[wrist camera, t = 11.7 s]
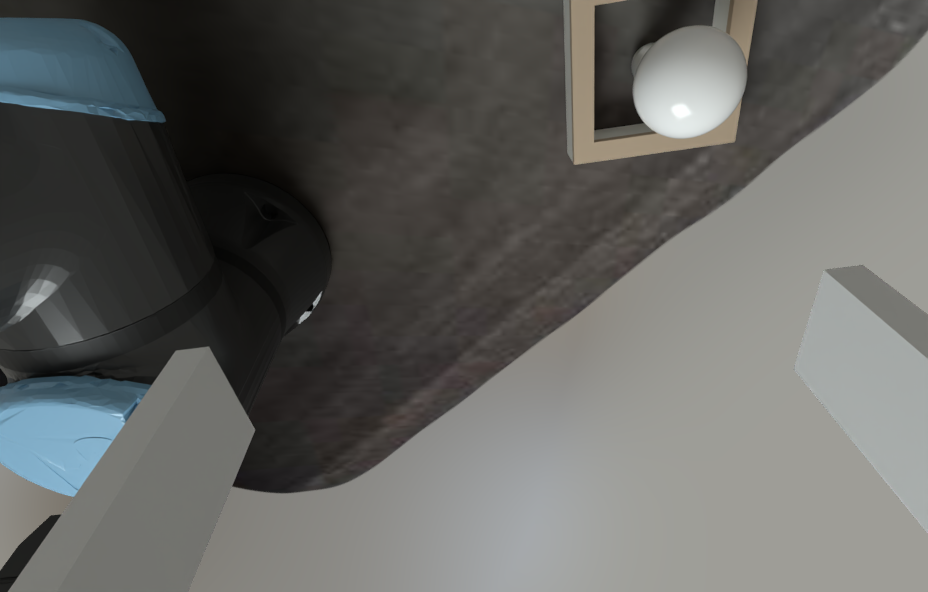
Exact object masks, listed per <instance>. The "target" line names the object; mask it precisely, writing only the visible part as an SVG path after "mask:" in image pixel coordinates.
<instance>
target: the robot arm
mask: <svg viewBox="0 0 928 592" xmlns="http://www.w3.org/2000/svg"><path fill="white" fill-rule="evenodd" d="M163 122H166V120H165V117H164V115H163V113H162V112H161V111H159V110H157V108H156V106H155V104H154V102H153V100H152V98H151V96H150V94H149V92H148V90H147V88H146V86H145V83H144V81H143V79H142V77H141V75H140V72H139V70H138V68H137V66H136V64H135V61H134V59H133V57H132V55H131V54H130V52H129V50H128V49H127V47H126V46H125V45H124V44H123V42H122V41H121V40H120V39H119V38H118V37H116V36H115V35H114V34H113V33H111V32H110V31H108V30H107V29H105V28H103V27H101V26H100V25H98V24H95V23H92V22H89V21H86V20H80V19H65V18H0V368H1V369H2V371H3V372H4V373H5V375H6V376H7V378H8V384H7V385H6V386H3V387H0V463H1V464H3V465H4V466H5V467H7V468H8V469H10V470H11V471H13V472H14V473H16V474H17V475H19V476H21V477H23V478H25V479H26V480H28V481H31V482H33V483H35V484H37V485H39V486H42V487H44V488H47V489H50V490H52V491H55V492H58V493H61V494H64V495H68V496H72V497H73V499H72V500H71V502H70V503H69V505H68V506H67V508H66V509H65V511H64V512H63V514H61V515H51V516H50V517H49V518H48V519H47V520H46V521H45V522H43V523H42V524H41V525H40V526H39V527H38V528H37V529H36V530H35V531H34V532H33V533H32V534H31V535H29V536H28V537H27V538H26V539H25V540H24V541H23V542H22V543H21V544H20V545H19V546H18V548H17V549H16V550H15V551H14V553H13V554H12V555H11V557H10V558H9V560H8V561H7V562H6V564H5V565H4V566H3V568H2V569H1V571H0V592H188V590H189V588H190V586H191V583H192V581H193V578H194V576H195V574H196V571H197V569H198V566H199V564H200V562H201V559H202V557H203V554H204V552H205V550H206V547H207V545H208V542H209V540H210V538H211V535H212V533H213V530H214V528H215V526H216V523H217V521H218V518H219V515H220V513H221V511H222V509H223V506H224V504H225V501H226V499H227V497H228V494H229V491H230V489H231V487H232V485H233V482H234V480H235V477H236V475H237V473H238V470H239V468H240V465H241V463H242V461H243V458H244V456H245V453H246V451H247V448H248V446H249V444H250V441H251V439H252V436H253V434H254V432H255V429H254V427H253V425H252V423H251V422H250V420H249V418H248V416H249V413H250V411H251V409H252V406H253V404H254V402H255V400H256V397H257V395H258V393H259V390H260V388H261V386H262V384H263V381H264V379H265V377H266V374H267V372H268V370H269V368H270V365H271V363H272V361H273V358H274V356H275V354H276V352H277V349H278V347H279V344H280V342H281V340H282V338H283V337H285V336H286V335H287V334H288V333H289V332H291V331H292V330H293V329H294V328H295V327H296V326H297V325H298V324H300V323H301V322H302V321H304V320H305V319H306V318H307V317H308V316H309V315H310V314H311V313H312V312H313V311H314V310H315V308H316V307H317V306H318V304H319V303H320V301H321V299H322V297H323V295H324V292H325V289H326V287H327V284H328V281H329V278H330V273H331V254H330V249H329V246H328V242H327V240H326V237H325V235H324V233H323V231H322V229H321V227H320V226H319V224H318V223H317V221H316V220H315V218H314V217H313V216H312V215H311V213H310V212H309V211H308V210H307V209H306V208H305V207H304V206H303V205H302V204H301V203H300V202H299V201H297V200H296V199H295V198H294V197H292V196H291V195H289V194H288V193H287V192H285V191H283V190H282V189H280V188H278V187H276V186H274V185H272V184H270V183H268V182H265V181H263V180H260V179H257V178H253V177H249V176H245V175H239V174H228V173H221V174H210V175H205V176H201V177H198V178H195V179H192V180H190V181H188V182H186V179H185V177H184V174H183V172H182V169H181V167H180V164H179V161H178V159H177V156H176V154H175V151H174V149H173V146H172V144H171V141H170V138H169V136H168V133H167V131H166V128H165V126H164V123H163ZM794 370H795V372H796V373H797V374H798V375H799V377H800V378H801V379H802V380H803V381H804V383H805V384H806V385H807V386H808V387H809V389H810V390H811V391H812V392H813V394H814V395H815V396H816V397H817V398H818V400H819V401H820V402H821V403H822V405H823V406H824V407H825V408H826V410H827V411H828V412H829V413H830V414H831V416H832V417H833V418H834V419H835V421H836V422H837V423H838V424H839V425H840V427H841V428H842V429H843V430H844V432H845V433H846V434H847V435H848V437H849V438H850V439H851V440H852V441H853V443H854V444H855V445H856V446H857V447H858V449H859V450H860V451H861V452H862V454H863V455H864V456H865V457H866V459H867V460H868V461H869V462H870V463H871V465H872V466H873V467H874V468H875V470H876V471H877V472H878V473H879V475H880V476H881V477H882V478H883V479H884V481H885V482H886V483H887V484H888V485H889V487H890V488H891V489H892V490H893V492H894V493H895V494H896V495H897V496H898V498H899V499H900V500H901V501H902V503H903V504H904V505H905V506H906V507H907V509H908V510H909V511H910V512H911V514H912V515H913V516H914V517H915V519H916V520H917V521H918V522H919V523H920V525H921V526H922V527H923V528H924V529H925V531H926V532H927V533H928V314H926V313H925V312H924V311H922V310H921V309H920V308H918V307H917V306H916V305H915V304H913V303H912V302H911V301H909V300H908V299H907V298H905V297H904V296H903V295H901V294H900V293H899V292H897V291H896V290H895V289H893V288H892V287H891V286H890V285H888V284H887V283H886V282H884V281H883V280H882V279H880V278H879V277H878V276H877V275H875V274H874V273H873V272H871V271H870V270H869V269H867V268H866V267H865V266H863V265H859V266H851V267H843V268H836V269H827V270H824V271H823V274H822V278H821V281H820V284H819V287H818V291H817V294H816V297H815V301H814V304H813V307H812V311H811V314H810V317H809V320H808V323H807V327H806V330H805V334H804V337H803V340H802V343H801V347H800V350H799V353H798V356H797V360H796V363H795V366H794Z"/></svg>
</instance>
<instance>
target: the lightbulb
mask: <svg viewBox="0 0 928 592" xmlns="http://www.w3.org/2000/svg"><path fill="white" fill-rule="evenodd" d="M631 71H632V74H633V76H634V81H633V101H634V105H635V108H636V111H637V113H638V115H639V116H640V118H641V119H642V121H643V122H644V123H645V124H646V125H647V126H648V127H649V128H650V129H652V130H653V131H654V132H656V133H658V134H660V135H663V136H666V137H669V138H675V139H687V138H693V137H697V136H700V135H703V134H706V133H708V132H710V131H712V130H713V129H715V128H717V127H718V126H719V125H721V124H722V123H723V122H724V121H725V120H726V119H728V117H729V116H730V115H731V114H732V113H733V112H734V110H735V109H736V107H737V106H738V104H739V103H740V101H741V99H742V96H743V94H744V91H745V87H746V83H747V63H746V59H745V56H744V53H743V51H742V49H741V47H740V46H739V44H738V43H737V42H736V41H735V40H734V39H733V38H732V37H731V36H730V35H729V34H727V33H726V32H724V31H722V30H720V29H718V28H715V27H712V26H707V25H691V26H686V27H682V28H679V29H676V30H674V31H672V32H670V33H668V34H666V35H664V36H663V37H662V38H660V39H659V40H658V41H656V42H655V43H648V44H646V45H644V46H642V47H641V48H640V49H638V51H637V52H636V53H635V55H634V56H633V59H632V62H631Z"/></svg>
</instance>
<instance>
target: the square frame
mask: <svg viewBox="0 0 928 592" xmlns="http://www.w3.org/2000/svg"><path fill="white" fill-rule="evenodd" d="M619 1H625V0H563V7H564V44H565V82H566V119H567V153H568V155H569V157H570V158H571V160H572V162H573V164H574V165H577V164H584V163H591V162H598V161H605V160H612V159H619V158H626V157H633V156H640V155H647V154H654V153H661V152H668V151H675V150H682V149H689V148H696V147H703V146H710V145H717V144H724V143H731V142H735V138H736V132H737V125H738V119H739V113H740V107H741V101H742V99H741V101H740V103H739V104H738V106H737V107H736V109H735V110H734V112H733V113H732V114H731V115H730V116H729V117H728V119H726V120H725V121H724V122H723V123H722V124H721V125H719V126H718V127H717V128H715V129H713V130H712V131H710V132H708V133H706V134H703V135H700V136H697V137H693V138H687V139H675V138H669V137H666V136H663V135H660V134H658V133H656V132H654V131H653V130H652V129H650V128H649V127H648V126H647V125H646V124H645V123H642V124H635V125H628V126H621V127H614V128H607V129H601V130H594V5H600V4H607V3H613V2H619ZM757 1H758V0H715V8H714V17H713V25H712V27H715V28H718V29H720V30H722V31H724V32H726V33H727V34H729V35H730V36H731V37H732V38H733V39H734V40H735V41H736V42H737V43H738V44H739V46H740V47H741V49H742V51H743V53H744V56H745V59H746V63H748V57H749V51H750V45H751V38H752V32H753V26H754V20H755V14H756V7H757Z"/></svg>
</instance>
